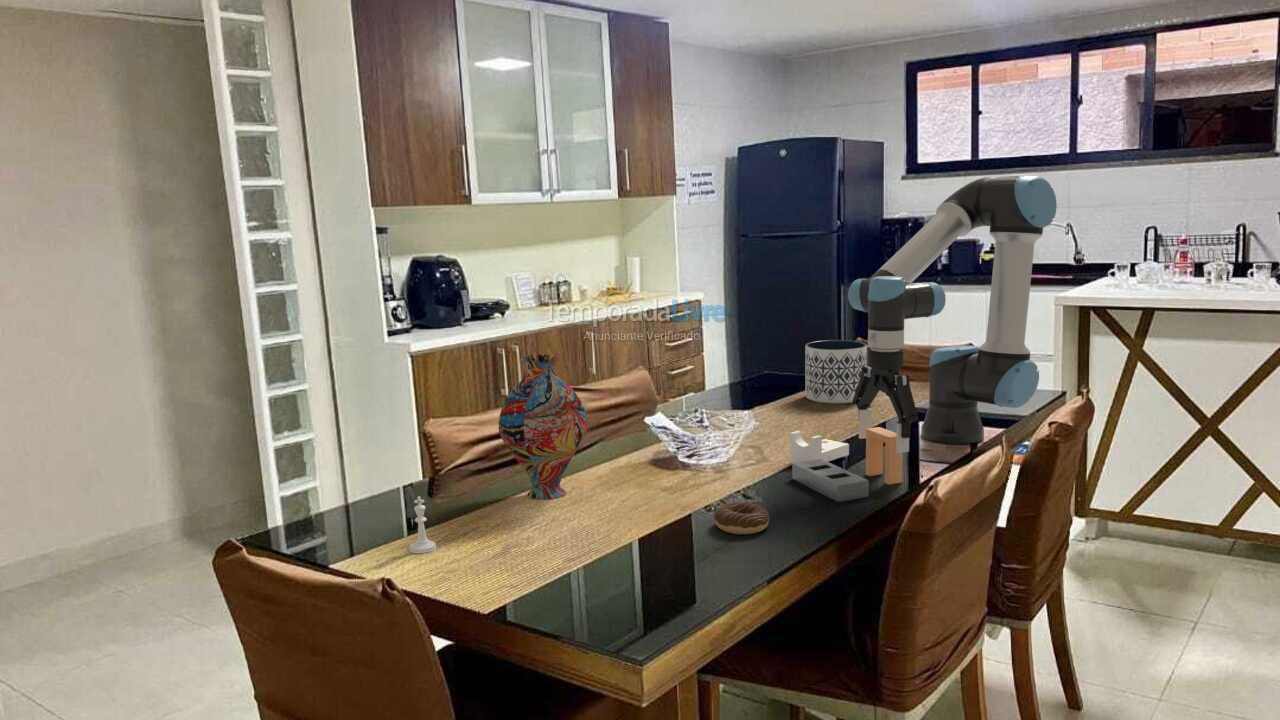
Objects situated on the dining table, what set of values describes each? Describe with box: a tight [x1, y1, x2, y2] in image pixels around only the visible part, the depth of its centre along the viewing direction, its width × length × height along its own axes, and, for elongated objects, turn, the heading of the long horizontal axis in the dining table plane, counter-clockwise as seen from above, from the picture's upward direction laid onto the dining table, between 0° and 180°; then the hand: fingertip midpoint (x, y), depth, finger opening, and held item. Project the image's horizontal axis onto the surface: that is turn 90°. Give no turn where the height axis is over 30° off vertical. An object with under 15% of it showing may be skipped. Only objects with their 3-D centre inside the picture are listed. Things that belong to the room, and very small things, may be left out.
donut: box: [713, 501, 771, 535], centre depth 183 cm, size 11×11×4 cm
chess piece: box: [408, 496, 437, 554], centre depth 176 cm, size 5×5×10 cm
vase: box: [498, 353, 588, 501], centre depth 204 cm, size 19×19×30 cm
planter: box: [804, 339, 868, 405], centre depth 290 cm, size 18×18×16 cm
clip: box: [865, 426, 904, 485], centre depth 209 cm, size 4×8×10 cm, turn 22°
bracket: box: [789, 430, 850, 464], centre depth 225 cm, size 13×7×8 cm, turn 131°
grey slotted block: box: [791, 459, 870, 503], centre depth 205 cm, size 8×18×4 cm, turn 22°
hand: (883, 444), depth 209 cm, fingers open, 13 cm apart
